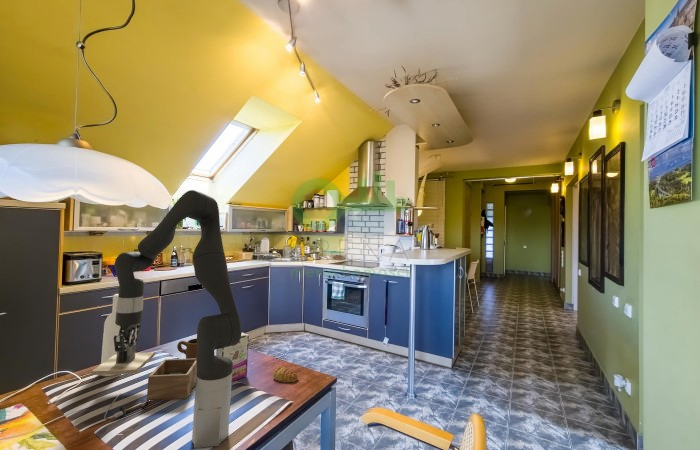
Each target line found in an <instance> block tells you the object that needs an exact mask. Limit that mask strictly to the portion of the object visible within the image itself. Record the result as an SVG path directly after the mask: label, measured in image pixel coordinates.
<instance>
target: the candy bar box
mask: <svg viewBox="0 0 700 450" xmlns="http://www.w3.org/2000/svg"><path fill="white" fill-rule="evenodd" d="M249 337H250V335H249V334H247V333H245V332H242V334H241V339H240V341H239V343H237V344H236V345H233V346H229V347H224V348H220V349H216V351H215V356H222V357H227V358H229V359H231V360H232V363H233V370H232V381H233V382H235V381H239V380H240V379H241V380H242V379H243V378H245V377H247V376H248V362H249V360H248V359H249V357H248V356H249Z"/></svg>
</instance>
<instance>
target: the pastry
mask: <svg viewBox="0 0 700 450" xmlns="http://www.w3.org/2000/svg"><path fill="white" fill-rule="evenodd" d="M272 378H273V379H274V380H275V381H278V382H281V383H282V382H283V383H294V382H296V381H297V380H298V378H299V377H298V374H297V373H296V372H295V371H294V370H292V369H290V368H289V367H288V368H286V367H281V366H278V367H276V369H275V370H274V372H273V375H272Z"/></svg>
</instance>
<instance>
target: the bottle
mask: <svg viewBox="0 0 700 450" xmlns="http://www.w3.org/2000/svg"><path fill="white" fill-rule="evenodd" d="M118 294H119V293H114V294H113V295H112V296H113V297H112V308H111V309H112V311H111V313H109V314H108V315H107V317H106V319H105V321H104V323H103V334H102V347H101V360H100V365H101V364H102V363H104V362H105V361H106V360H108V359H109V358H110V357H112V356H113V355H115V354H116V353H117V352H115V346H114V336H118V335H119V330H120V326H119V325H116V324H115V320H116V308H117V301H118ZM124 342H126V341H125V340H124ZM118 347H119V346H118ZM118 375H119V374H114V375H101V376H102V377H113V376H118Z"/></svg>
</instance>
